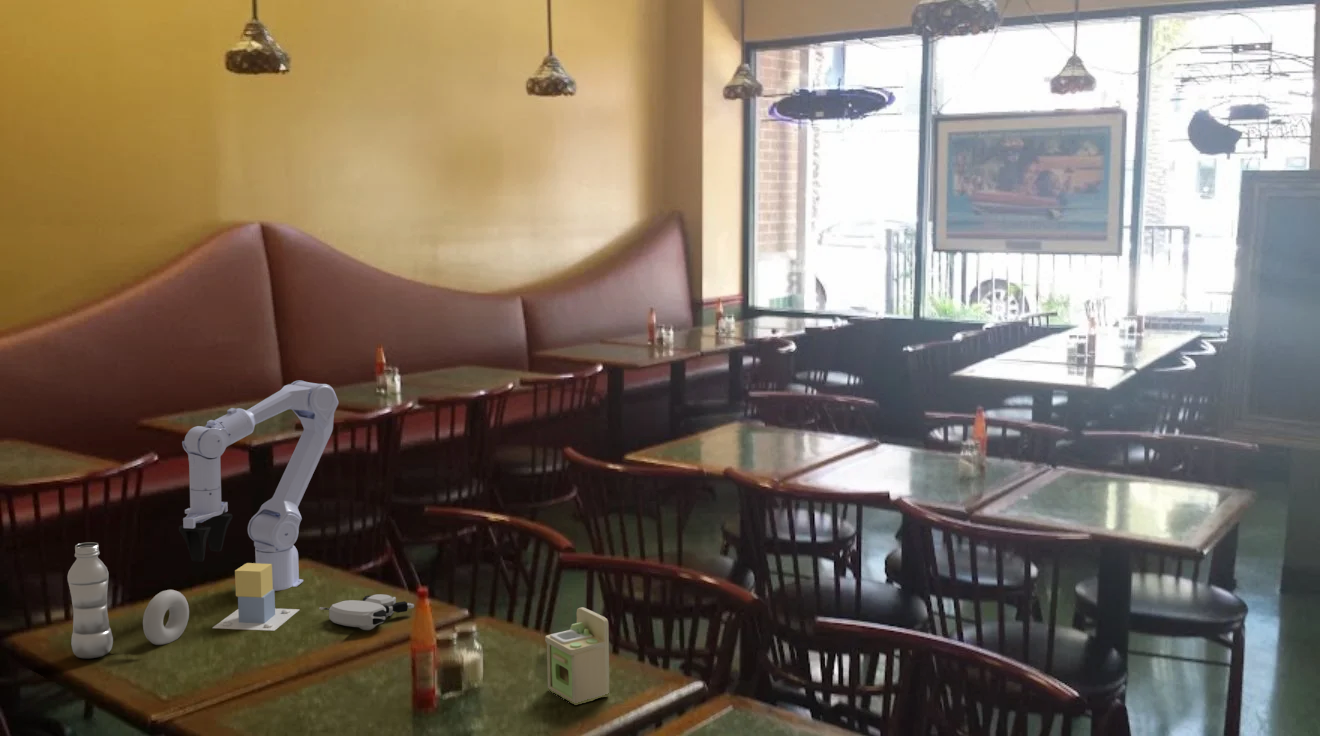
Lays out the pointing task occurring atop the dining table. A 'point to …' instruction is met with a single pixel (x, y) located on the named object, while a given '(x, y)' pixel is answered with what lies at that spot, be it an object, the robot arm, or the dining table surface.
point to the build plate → (270, 625)
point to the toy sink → (580, 658)
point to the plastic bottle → (89, 603)
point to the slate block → (256, 608)
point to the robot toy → (366, 611)
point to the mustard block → (253, 580)
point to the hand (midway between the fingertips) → (207, 555)
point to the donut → (156, 613)
